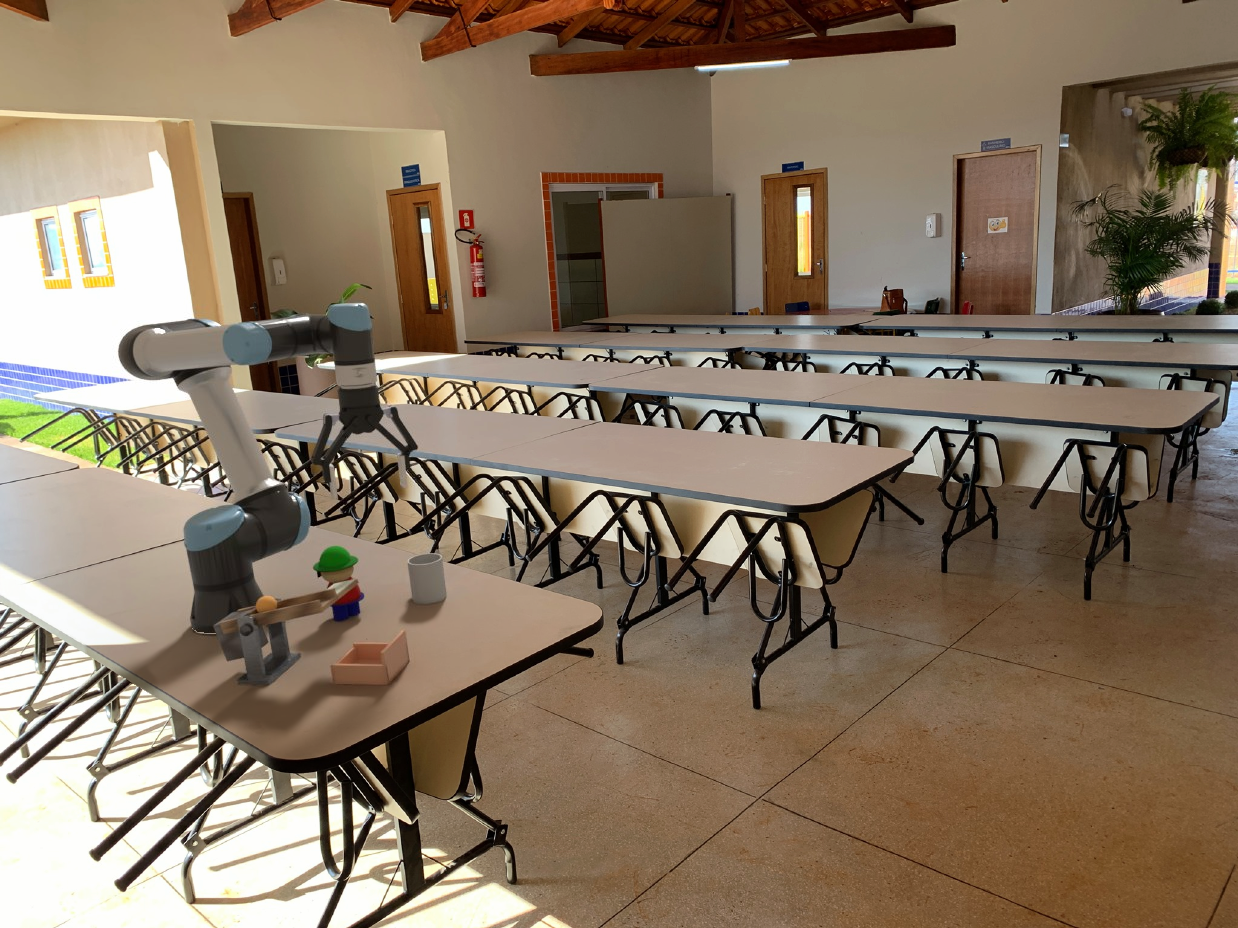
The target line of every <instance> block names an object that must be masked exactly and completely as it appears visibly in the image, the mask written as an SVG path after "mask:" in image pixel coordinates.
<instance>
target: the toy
mask: <svg viewBox="0 0 1238 928" xmlns="http://www.w3.org/2000/svg"><path fill="white" fill-rule="evenodd" d="M358 562H359V558H358V557H357V556H355V555H351V553H350V552H349V551H348V550H347V549H346V548H345V547H342V546H340V545H331V546H329V547H327V548H325V549H323V551H322V552H321V555H320V557H319V561H318V562H317V561H316V562H315V563H314V564H313V565H312V569H313V570H314V571H315V572H316V576H317V578H318V579H319V578H321V577H322V578H323V580H325V581H326V582H327V583H328V584H327V586H326V590H327V589H328V588H329V587H330V586H332V585H333V584H335V583H339V582H344V581H348V580H353V579H354V578H353V577H352V575H353V573H354V571H355V568H354V566H355V565H356V564H357V563H358ZM364 598H365V594H364V592H362V591H361V588H360V585H359V583H358V584H357V585H356V586H354V587H353V588H352V589H351V590H349V591H348V592H347V593H346V594H344V595H343V596H342V597H341V598H340V599H338V600H337V601H336V602H335V603H333V604H332V605H331V606H330V607H329V608H331V610H332V617H333V621H334V622H343V621H347V620H348V619H349V617H350V618H351V617H355V616H356V617H357V616H358V615H360V614H361V606H360V601H362V600H364Z"/></svg>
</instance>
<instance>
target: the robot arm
mask: <svg viewBox="0 0 1238 928" xmlns="http://www.w3.org/2000/svg"><path fill="white" fill-rule="evenodd" d="M374 350H375V349H374V339H373V323H372V320H371V314H370V310H369V306H368V305H367V304H365V303H363V302H353V303H351V302H349V303H336V304H331V305H329V306H328V308H327V314H320V313H319V314H316V313H315V314H312V313H307V312H305V313H298V314H292V315H289V316H288V317H279V318H275V319H274V318H273V319H264V320H255V321H243V322H238V323H229V324H223V325H221V324H220V323H218V322H216V321H214V320H212V319H209V318H198V319H197V318H187V319H185V320H184V319H183V320H176V321H167V322H161V323H152V324H151V323H150V324H143V325H141V326H137V327H134V328H132V329H131V330H129V331H128V332H126V333H125V335H124V336H123V337H122V338H121V339H120V342H119V345H118V348H117V354H118V360H119V362H120V364H121V366H122V367H123V369H124V370H125V371H126V372H127V373H128V374H130V375H132V376H133V377H135V378H137V379H139V380H144V381H161V380H168V379H173V381H174V383H175V385H176V387H177V389H178V391H182V392H184V393H187V394H188V395H189V398H190V400H191V402H192V404H193V406H194V408H195V411H196V412H197V413H196V414H197V415H198V417H199V419H200V422H201V423H202V426H203V428H204V431H205V432H206V435H207V437H208V438H209V441H210V443H211V445H212V448H213V450H214V452H215V454H216V456H217V458H218V461H219V463H220V465H221V467H222V470H223V472H224V474H225V476H226V478H227V481H228V483H229V486H231V489H232V491H233V494H234V497H233V500H232V502H231V504H225V505H219V506H217V507H210V508H207V509H205V510H202V511H200V512H198V513H195V514H194V515H192V516H191V517H189V519H187V521H186V522H185V524H184V526H183V530H182V531H183V538H184V541H183V545H184V547H185V549H186V555H187V559H188V561H187V562H188V565H189V571H190V576H191V581H192V587H193V591H194V592H193V598H192V604H191V611H190V616H189V621H190V627H191V629H192V628H193V629H194V630H196V631H197V632H204V633H216V632H215V629H214V627H213V626H214V625H215V624H216V623H218V622H219V621H221V620H222V619H224V618H225V617H227V616H228V615H230V614H231V613H233V612H237V610H239V609H243V608H248V607H252V606H256V603H257V601H258V600H259V599H260V598H261V597H263V596H265V595H264V594H263V592H262V590H261V588H260V586H259V584H258V583H257V580H256V579H255V574H254V567H253V563H255V562H257V561H260V560H262V559H265V558H268V557H270V556H273V555H276V554H278V553H281V552H283V551H284V552H285V551H288V550H289V549H292V548H294V547H295V546H297V545H299V544H301V543H303V541H305V539H306V538H307V536H308V534H309V532H310V527H311V513H310V509H309V506H308V504H307V502H306V501H305V499H304V497H302V496H300V495H299V494H298V493H296V492H292V491H288V489H287V487H286V484H285V482H283V481H282V482H281V481H279V480H277V479H275V477H274V476H273V474H272V471H271V469H270V467H269V465H268V462H267V460H266V458H265V456H264V454H263V452H262V450H261V447H260V445H259V442H258V441H257V438H256V437H255V434H254V432H253V430H252V428H251V426H250V423H249V421H248V419H247V417H246V414H245V413H244V411H243V409H242V406H241V403H240V401H239V399H238V397H237V395H236V393H235V391H234V389H233V386H232V384H231V382H230V377H231V375H232V373H233V368H232V367H231V366H235V365H238V366H254V365H259V364H263V363H267V362H268V363H269V362H273V361H280V360H285V359H290V358H297V357H303V356H309V355H314V354H331V355H333V356H332V357H333V364H334V371H335V372H334V373H335V380H336V385H337V386H338V389H337V397H338V398H337V399H338V406H339V412H338V413H337V414H332V413H331V414H330V413H324V414H323V416H322V421H323V422H322V428H321V430H320V433H319V435H318V438H317V442H316V444H315V447H314V449H313V451H312V453H311V457H310V461H311V463H312V464H313V465H314V466H320V467H321V473H322V477H323V478H322V479H323V482H325V483H326V484H327V483H329V490H330V496H331V498H332V499H333V500H338V499H339V496H338V487H337V480H336V472H335V466H334V465H333V464H332V462H333V460H334V459H335V457H336V455H337V454H338V453H339V451H340V450H341V449H342V447H343V446H344V444H345V443H346V441H347V439H349V438H350V437H351V435H352V434H353V435H355V436H356V435H357V436H358V435H361V434H364V433H365V434H366V433H367V434H369V433H372V434H373V432H374V431H377V432H378V433H380V434H381V435H382V436H383V437H384V438H385V439H386V440H388V441H389V443H391V444H392V445H393V446H394V447H395V448H396V449H398V450H399V451H400V452H399V453H397V454H396V456H397V464H398V465H397V466H398V473H399V475H398V477H399V484H400V486H401V487H402V488H403V489H405V488H408V479H407V478H408V477H407V471H409V470H411V459H410V455H411V453H412V452H413V451H418V449H419V446H418V444H417V443H416V441H415V440H414V438H413V437H412V435H411V433H410V432H409V430H408V428H407V427H406V426H405V423H403V421H402V420H401V418H400V415H399V411H398V408H397V407H396V406H394V405H392V404H390V405H389V406H388V407H384V408H382V407H381V401H380V400H381V399H380V392H379V386H378V385H377V384H375V383H377V382H378V375H377V368H376V359H375V351H374ZM384 415H385V416H386V417H387V418H388V419H390V420H391V422H393V424H394V426H395V428H396V429H397V431H398V432H399V433H400V435H401V436H402V438H403V440H404V441H405V443H406V445H404V444H403V443H402V442H401V441H400V440H398V439H397V438H396V437H395V436H394V434H392V433H391V432H390V431H389V430H388V429H387V428H386V427H384V426H383V425H382V424H381V423H380V422H381V420H382V419H383V417H384ZM338 421H339V422H340V423H341V424H342V425H343V426H342V427H341V429H340V430H339V432H338V435H337V436H336V437H335V439H334V440H333V442H332V443H331V445H330V446H329V448H328V449H327V451H326V452H325V454H324V451H325V449H326V446H327V443H328V440H329V438H330V435H331V433H332V429H333V427H334V426H336V423H337V422H338ZM323 454H324V455H323Z"/></svg>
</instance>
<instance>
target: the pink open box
mask: <svg viewBox="0 0 1238 928" xmlns="http://www.w3.org/2000/svg"><path fill="white" fill-rule="evenodd" d="M407 640H408V638H407V633H406V629H402V630H401V631H400V632H399V633H398V634H397V635H396V636H395V637H394V638H393V639H392V640H391V641H389V642H370V641H369V642H366V641H365V642H359V641H358V642H355V641H354V642H353V643H352V647H351V648H350V649H349V650H348V651H347V652H346V653H345V654H344V655H343V656H341V658H339V659H338V660H337V661H336V662H335V663H331V664H330V672H331V678H332V683H333V684H334V685H377V686H380V685H381V686H384V685H385V686H389V685H390V684H391V682H392V681H393V680H394V679H395V678H396V677H397V676H398V674H400V672H401V671H402V670H403V669H404V668H405V667H406V665H407V664H409V662H410V655H409V647H408V646H409V645H408V641H407Z"/></svg>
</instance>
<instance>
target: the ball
mask: <svg viewBox="0 0 1238 928" xmlns="http://www.w3.org/2000/svg"><path fill="white" fill-rule="evenodd" d="M275 599H276V598H274V597H273V596H270V595H264V596H263V597H261V598H260V599H259V600H258V601H257V603H256V610H257V611H258V613H262V612H266V611H271V610H275V609H276V608H277V602H276V600H275Z"/></svg>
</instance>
